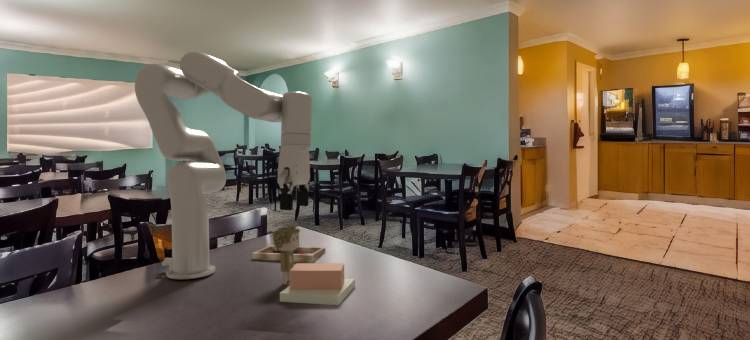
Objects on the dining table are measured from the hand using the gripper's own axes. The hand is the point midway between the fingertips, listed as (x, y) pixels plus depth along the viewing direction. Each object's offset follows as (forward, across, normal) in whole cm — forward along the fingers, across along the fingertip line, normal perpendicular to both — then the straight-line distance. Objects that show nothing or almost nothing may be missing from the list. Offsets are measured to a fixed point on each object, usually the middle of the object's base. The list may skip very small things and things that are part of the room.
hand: (294, 207), depth 106 cm
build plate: (+20, +5, +9) cm, 22 cm away
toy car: (+21, -24, -12) cm, 34 cm away
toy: (+20, -3, -3) cm, 21 cm away
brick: (+18, +5, +9) cm, 21 cm away
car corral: (+21, -24, -12) cm, 34 cm away
